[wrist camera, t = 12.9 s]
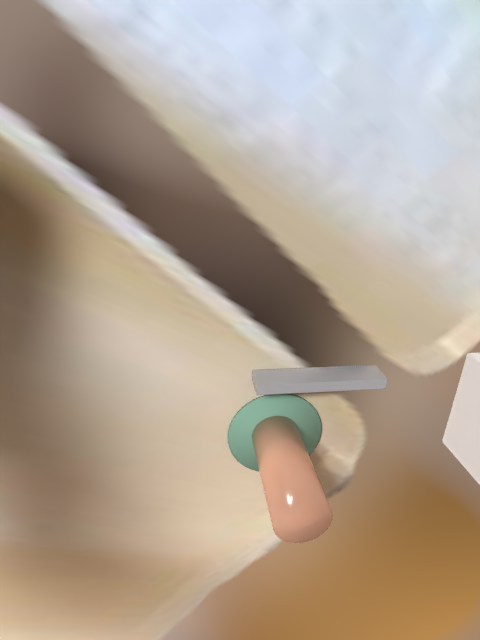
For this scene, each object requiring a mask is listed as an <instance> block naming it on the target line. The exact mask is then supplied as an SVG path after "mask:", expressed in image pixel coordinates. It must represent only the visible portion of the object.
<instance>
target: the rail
mask: <svg viewBox="0 0 480 640" xmlns="http://www.w3.org/2000/svg"><path fill="white" fill-rule="evenodd" d="M387 380H388V379H387V378H386V376H385V375H384V374H383V373H382V372H381V371H380V369H379V368H378V367H377V366H376V365H363V366H340V367H314V368H290V369H266V370H253V372H252V381H253V384H254V387H255V391H256V394H257V395H269V394H289V393H309V392H329V391H346V390H347V391H349V390H369V389H385V388H386V385H387Z"/></svg>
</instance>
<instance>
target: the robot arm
mask: <svg viewBox="0 0 480 640" xmlns="http://www.w3.org/2000/svg"><path fill="white" fill-rule="evenodd" d="M442 442H443V443H444V444H445V445H446V446H447V448H448V449H449V450H450V451H451V452H452V454H454V456H455V457H456V458H457V459H458V460H459V462H460V463H461V464H462V465H463V466H464V467H465V468H466V470H467V471H468V472H469V473H470V474H471V476H472V477H473V478H474V479H475V480H476V481H477V482H478V484H479V485H480V353H468V354H467V357H466V361H465V364H464V368H463V371H462V375H461V378H460V382H459V385H458V389H457V392H456V396H455V399H454V403H453V406H452V410H451V413H450V416H449V420H448V423H447V427H446V430H445V434H444V437H443V441H442Z"/></svg>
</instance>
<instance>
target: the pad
mask: <svg viewBox="0 0 480 640" xmlns="http://www.w3.org/2000/svg"><path fill="white" fill-rule="evenodd" d="M271 416H285V417H288V418H290V419H291V420H293V421H294V422H295V424H296V425H297V427H298V430H299V432H300V435H301V437H302V440H303V442H304V444H305V447H306V449H307V452H308V454H309V455H310V454H311V453H312V452H313V450H314V449H315V447H316V446H317V444H318V442H319V439H320V436H321V421H320V417H319V415H318V413H317V411H316V410H315V408H314V407H313V406H312V405H311V404H310V403H309V402H308V401H306V400H305V399H303V398H301V397H299V396H296V395H292V394H269V395H264V396H261V397H259V398H256V399H254V400H252V401H251V402H249V403H248V404H246V405H245V406H244V407H242V408H241V409H240V410H239V411H238V413H237V414H236V415H235V417H234V418H233V420H232V422H231V424H230V427H229V431H228V443H229V447H230V450H231V453H232V454H233V456H234V457H235V458H236V460H237V461H238V462H240V463H241V464H242V465H244V466H245V467H247V468H249V469H252V470H255V471H259V468H258V463H257V459H256V455H255V451H254V447H253V443H252V433H253V430H254V428H255V427H256V425H257V424H258V423H259V422H261V421H262V420H264V419H266V418H268V417H271Z"/></svg>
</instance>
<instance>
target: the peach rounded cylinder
mask: <svg viewBox="0 0 480 640" xmlns="http://www.w3.org/2000/svg"><path fill="white" fill-rule="evenodd" d="M252 443H253V447H254V451H255V455H256V459H257V463H258V468H259V472H260V476H261V480H262V484H263V488H264V493H265V497H266V501H267V505H268V509H269V513H270V518H271V522H272V526H273V530H274V532H275V534H276V535H277V536H278V537H279V538H280V539H282V540H284V541H286V542H290V543H302V542H307V541H310V540H313V539H315V538H317V537H318V536H320V535H321V534H323V533H324V532H325V531H326V530H327V529H328V527H329V526H330V524H331V521H332V511H331V509H330V506H329V503H328V501H327V499H326V496H325V494H324V491H323V489H322V486H321V484H320V481H319V479H318V476H317V474H316V472H315V469H314V467H313V464H312V462H311V459H310V457H309V454H308V452H307V449H306V447H305V444H304V442H303V440H302V437H301V435H300V432H299V430H298V427H297V425H296V424H295V422H294V421H293V420H291V419H290V418H288V417H285V416H271V417H268V418H266V419H264V420H262V421H261V422H259V423H258V424H257V425H256V427H255V428H254V430H253V433H252Z"/></svg>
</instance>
